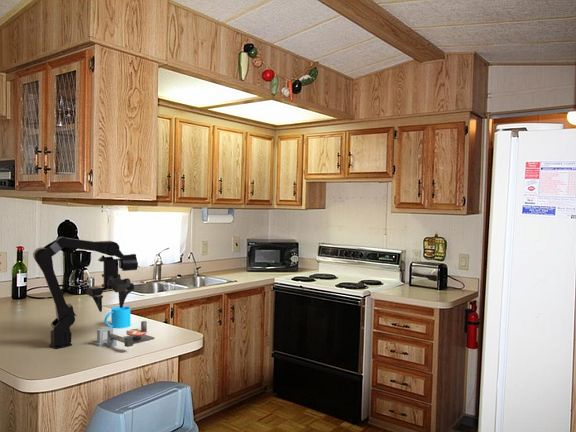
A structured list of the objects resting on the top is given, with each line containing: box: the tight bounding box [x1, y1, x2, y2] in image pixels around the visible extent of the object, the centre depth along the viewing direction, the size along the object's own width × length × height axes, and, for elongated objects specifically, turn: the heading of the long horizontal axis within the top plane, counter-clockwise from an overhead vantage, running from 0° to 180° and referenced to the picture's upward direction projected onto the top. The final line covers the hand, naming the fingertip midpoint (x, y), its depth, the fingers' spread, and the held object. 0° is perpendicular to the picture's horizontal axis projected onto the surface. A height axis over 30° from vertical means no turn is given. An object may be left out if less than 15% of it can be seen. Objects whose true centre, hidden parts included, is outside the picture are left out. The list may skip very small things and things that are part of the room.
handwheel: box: [126, 320, 148, 336], centre depth 199 cm, size 8×8×6 cm
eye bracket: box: [93, 326, 117, 348], centre depth 192 cm, size 7×8×6 cm
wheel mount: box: [123, 334, 155, 345], centre depth 200 cm, size 10×10×1 cm
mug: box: [104, 305, 131, 329], centre depth 219 cm, size 12×8×8 cm
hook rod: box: [109, 333, 134, 348], centre depth 186 cm, size 2×13×3 cm, turn 51°
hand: (111, 309), depth 200 cm, fingers open, 9 cm apart
